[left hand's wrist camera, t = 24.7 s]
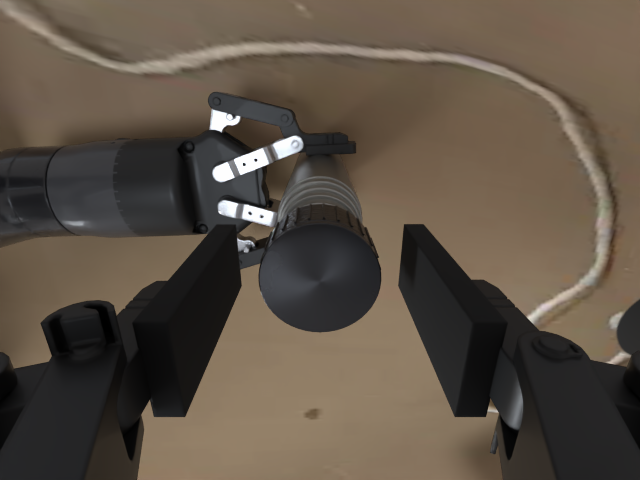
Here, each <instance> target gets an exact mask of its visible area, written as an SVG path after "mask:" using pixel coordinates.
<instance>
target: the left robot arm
mask: <svg viewBox="0 0 640 480" xmlns="http://www.w3.org/2000/svg"><path fill="white" fill-rule="evenodd" d="M241 286H242V284H241V274H240V263H239V252H238V242H237V231H236V224H216V226H215V227H214V228H213V229H212V230H211V231H210V233H209V234H208V235H207V236H206V237H205V238H204V240H203V241H202V242H201V243H200V244H199V245H198V246H197V248H196V249H195V250H194V251H193V252H192V253H191V255H190V256H189V257H188V258H187V259H186V260H185V262H184V263H183V264H182V265H181V266H180V267H179V269H178V270H177V271H176V272H175V273H174V274H173V276H172V277H171V278H170V279H169V280H168V281H156V282H154V283H152V284H150V285H149V286H147V287H145V288H143V289H142V290H141V291H140V292H139V293H138V294H137V295H136V296H135V297H134V298H133V301H130V302H129V303H128V305H127V306H126V308H125V309H123V310H122V311H121V312H120V313H119V314H118V315H117V316H116V312H115V308H114V305H112V304H111V303H110V302H107V301H101V300H95V301H85V302H80V303H76V304H72V305H69V306H67V307H64V308H61V309H59V310H57V311H56V312H54V313H52V314H50V315H49V316H47V317H46V318H45V319H44V320H43V321H42V322H41V326H42V329H43V331H44V334H45V337H46V340H47V343H48V346H49V349H50V352H51V354H52V357H51V359H50V361H49V362H46V363H40V364H35V365H30V366H25V367H20V368H15V369H14V368H13V366H12V363H11V361H10V358H9V356H7V355H6V354H4V353H3V352H0V480H137V476H138V469H139V462H140V455H141V448H142V441H143V434H144V426H143V420H142V416H141V414H142V412H143V410H144V409H145V407H146V405H147V403H148V402H149V400H150V402H151V406H152V410H153V414H154V417H185V416H186V414H187V411H188V409H189V407H190V404H191V402H192V400H193V397H194V395H195V393H196V390H197V388H198V386H199V384H200V381H201V379H202V377H203V374H204V372H205V370H206V367H207V365H208V363H209V360H210V358H211V356H212V353H213V351H214V349H215V346H216V344H217V342H218V339H219V337H220V335H221V333H222V330H223V328H224V326H225V323H226V321H227V319H228V316H229V314H230V312H231V309H232V307H233V305H234V302H235V300H236V298H237V295H238V293H239V291H240V288H241ZM398 286H399V288H400V291H401V293H402V295H403V298H404V300H405V302H406V305H407V307H408V309H409V312H410V314H411V316H412V319H413V321H414V323H415V326H416V328H417V330H418V333H419V335H420V337H421V339H422V342H423V344H424V346H425V349H426V351H427V353H428V356H429V358H430V360H431V363H432V365H433V367H434V370H435V372H436V374H437V377H438V379H439V381H440V384H441V386H442V388H443V391H444V393H445V395H446V397H447V400H448V402H449V404H450V407H451V409H452V411H453V414H454V416H455V417H486V414H487V410H488V406H489V402H490V398H491V400H492V402H493V403H494V405H495V407H496V408H497V410H498V412H499V416H498V420H497V424H496V428H495V432H494V436H493V440H492V444H491V450H490V453H493V454H495V453H496V450H497V446H498V447H499V454H500V461H501V468H502V475H503V480H640V351H637V352H635V353H634V354H632V356H631V358H630V361H629V363H628V366H627V367H623V366H618V365H613V364H608V363H603V362H598V361H593V360H590V358H589V356H588V355H587V354H586V353H585V351H584V350H583V349H582V348H581V347H580V346H578V345H577V344H575V343H574V342H572V341H571V340H568V339H566V338H564V337H562V336H559V335H557V334H553V333H549V332H545V331H539V330H538V329H537V328H536V327H535V326H534V325H533V324H532V323H531V322H530V321H529V319H528V318H527V317H526V316H525V315H524V314H523V313H522V312H521V311H520V310H519V309H518V308H517V307H515V305H514V304H513V303H512V302H511V301H510V300H509V299H507V297H506V296H505V295H504V294H503V293H502V292H501V291H500V290H499V288H497V287H495V286H494V285H492V284H490V283H488V282H487V281H485V280H471V279H470V278H469V277H468V276H467V274H466V273H465V272H464V271H463V270H462V269H461V267H460V266H459V265H458V264H457V263H456V262H455V260H454V259H453V258H452V257H451V256H450V255H449V253H448V252H447V251H446V250H445V249H444V248H443V246H442V245H441V244H440V243H439V242H438V241H437V240H436V238H435V237H434V236H433V235H432V234H431V233H430V231H429V230H428V229H427V228H426V227H425V226H424V224H404V231H403V241H402V252H401V263H400V274H399V284H398Z"/></svg>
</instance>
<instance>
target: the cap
mask: <svg viewBox="0 0 640 480" xmlns="http://www.w3.org/2000/svg"><path fill="white" fill-rule="evenodd" d="M377 258H379V256H378V254H377V251H376V248H375V246H374V243H373V241H372V238H370V235H369V232H368V230H367V228H366V227H364V226H363V224H362V223H361V222H360V219H359V218H356V217H355V216H354V215H352V214H351V213H350V212H349V211H348V210H347V211H346V210H344V209H342V208H339V207H338V206H336V205H335V206H333V205H327V204H325V203H323V204H309V205H307V206H304V207H301V208H299V207H298V208H297V209H296V210H294V211H292V212H290V213H289V214H288V213H287V214H286V215H285V217H284V218H283V219H282V220H281V221H280V222H277V224H276V226H275V229H274V230H273V232H271V233H270V235H269V238H268V240H267V243H266V246H265V248H264V252H263V255H262V257H261V260H260V263H261V264H260V268H259V286H260V291H261V294H262V296H263V299H264V301H265V303H266V304H267V306H268V307H269V309H270V310H271V311H272V312H273V313H274V314H275V315H276V316H277V317H278V318H279V319H281V320H282V321H284V322H285V323H287V324H289V325H291V326H293V327H295V328H298V329H301V330H305V331H311V332H329V331H335V330H339V329H342V328H345V327H347V326H349V325H351V324H353V323H355V322H356V321H358V320H359V319H360V318H362V317H363V316H364V315H365V314H366V313H367V312H368V311H369V309H370V308H371V307H372V305H373V304H374V302H375V300H376V298H377V296H378V293H379V290H380V285H381V267H380V265H379V262H378V259H377Z"/></svg>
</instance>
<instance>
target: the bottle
mask: <svg viewBox="0 0 640 480" xmlns="http://www.w3.org/2000/svg"><path fill="white" fill-rule="evenodd" d="M323 203H325V204H327V205H333V206H335V205H336V206H338V207H339V208H342V209H344V210H346V211H347V210H348V211H349V212H350V213H351V214H352V215H354V216H355V217H356V218H359V219H360V222H361V223H362V210H361V206H360V202H359V200H358V197H357V195H356V192H355V190H354V188H353V185H352V183H351V180H350V178H349V175H348V173H347V170H346V168H345V165H344V163H343V160H342V158H341V156H340V154H331V155H307V156H306V152H302V153H301V154H300V155H299V157H298V160H297V162H296V165H295V167H294V170H293V172H292V175H291V177H290V180H289V182H288V185H287V187H286V189H285V192H284V194H283V197H282V199H281V202H280V205H279V209H278V219H277V222H280V221H281V220H282V219H283V218H284V217H285V215H286V214H287V213H288V214H289V213H290V212H292V211H294V210H296V209H297V208H298V207H299V208H301V207H304V206H307V205H309V204H323Z"/></svg>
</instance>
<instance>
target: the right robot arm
mask: <svg viewBox="0 0 640 480" xmlns="http://www.w3.org/2000/svg"><path fill="white" fill-rule="evenodd" d="M208 103H209V106H210V107H211V108H212V113H211V121H210V130H207V131H205V132H203V133H202V134H201V135H199V136H196V137H178V138H155V139H126V138H119V139H116V140H106V141H95V142H89V143H84V144H78V145H70V146H45V147H24V148H13V149H7V150H4V151H1V152H0V248H2V247H5V246H8V245H11V244H15V243H18V242H22V241H25V240H29V239H33V238H39V237H61V236H98V237H111V238H119V237H146V236H173V235H197V234H209V233H210V231H211V230H212V229H213V228H214V227H215V226H216V224H236V231H237V242H238V252H239V263H240V269H243V268H246V267H250V266H253V265H256V264H260V260H261V257H262V255H263V252H264V248H265V246H266V243H267V240H268V238H269V237H266V238H263V239H260V240H257V241H256V239H255V238H254V237H251V236H248V237H244V236H242V235H240V234H239V233H240V232H241V231H242V230H243V229H245V228H246V227H247V226H248V225H250V224H251V223H252V222H255V223H259V224H263V225H267V226H271V227H275V226H276V224H277V219H278V209H279V205H280V202H281V201H279V200H276V199H272V198H269V191H268V188H267V185H266V183H265V179H266V173H267V168H266V165H268V164H271V163H273V162H275V161H277V160H279V159H282V158H285V157H287V156H290V155H293V154H295V153H302V152H306V156H307V155H331V154H353V153H356V143H355V141H348V136H347V135H346V134H343V133H340V132H338V133H314V134H307V133H304V132H303V131H302V130H301V129H300V128H299V125H298V123H297V120H296V117H295V113H294V112H293V111H292V110H291V109H287V108H283V107H279V106H275V105H271V104H267V103H263V102H259V101H255V100H251V99H248V98H244V97H240V96H236V95H232V94H228V93H221V92H213V93H211V94H210V96H209V98H208ZM243 117H244V118H248V119H252V120H256V121H260V122H264V123H268V124H272V125H276V126H279V127H280V129H281V131H282V134H283V136H284V138H281V139H279V140H276V141H273V142H270V143H268V144H265V145H263V146H260V147H258V148H255V149H251V148H250V147H248V146H247V145H245V144H244V143H242V142H240V141H239V140H237V139H236V138H234V137H233V136H231V135H230V134H228V133H227V132H225V129H226V128H227V126H229V125H237V124H239V123H241V121H242V119H243ZM267 205H268V206H267ZM262 215H263V216H262Z"/></svg>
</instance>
